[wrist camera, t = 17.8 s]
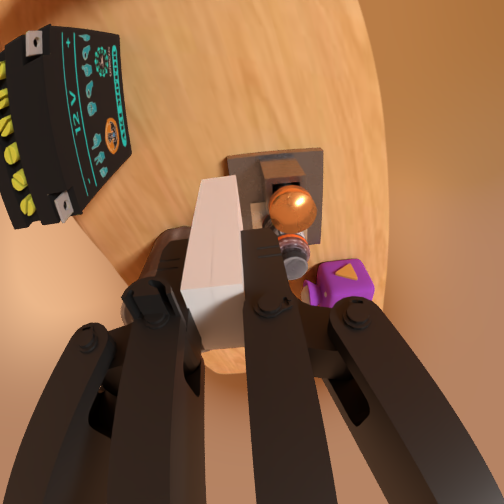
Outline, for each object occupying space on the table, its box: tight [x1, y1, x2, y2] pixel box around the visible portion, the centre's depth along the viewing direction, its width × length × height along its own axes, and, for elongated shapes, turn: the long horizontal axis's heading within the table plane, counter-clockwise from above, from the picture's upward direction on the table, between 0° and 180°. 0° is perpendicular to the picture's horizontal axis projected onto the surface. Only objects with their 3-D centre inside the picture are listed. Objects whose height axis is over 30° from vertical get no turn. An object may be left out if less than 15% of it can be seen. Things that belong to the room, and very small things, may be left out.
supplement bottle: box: [262, 214, 310, 280], centre depth 40 cm, size 6×6×11 cm
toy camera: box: [301, 259, 374, 308], centre depth 52 cm, size 11×14×10 cm
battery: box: [0, 24, 132, 229], centre depth 23 cm, size 19×10×20 cm, turn 0°
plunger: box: [268, 183, 317, 234], centre depth 33 cm, size 5×5×7 cm
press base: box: [227, 148, 323, 245], centre depth 41 cm, size 17×14×9 cm
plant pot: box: [121, 226, 210, 353], centre depth 43 cm, size 16×16×16 cm
